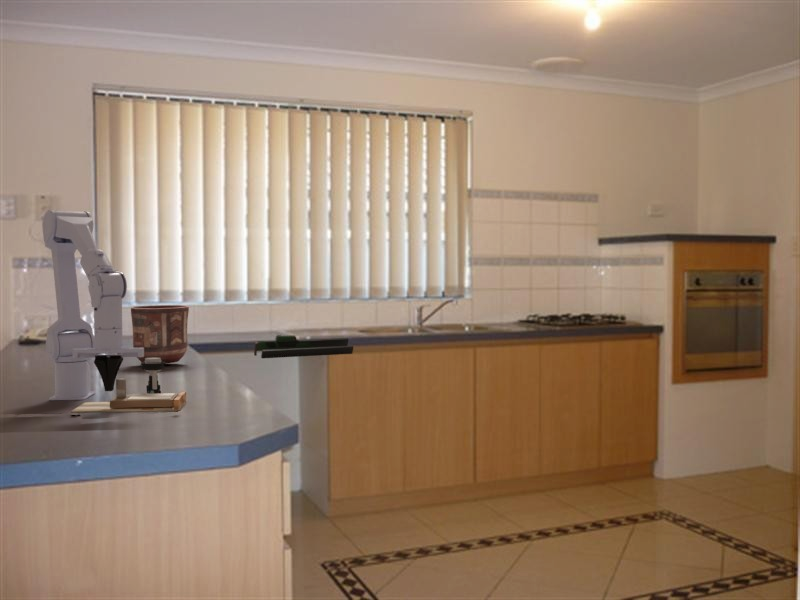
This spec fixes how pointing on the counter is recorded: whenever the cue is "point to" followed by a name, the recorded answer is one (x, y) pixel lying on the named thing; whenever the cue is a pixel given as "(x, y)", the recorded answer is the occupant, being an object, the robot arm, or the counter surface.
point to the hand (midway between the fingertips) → (109, 390)
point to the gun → (301, 347)
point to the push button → (153, 373)
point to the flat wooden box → (105, 407)
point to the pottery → (160, 331)
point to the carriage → (140, 398)
